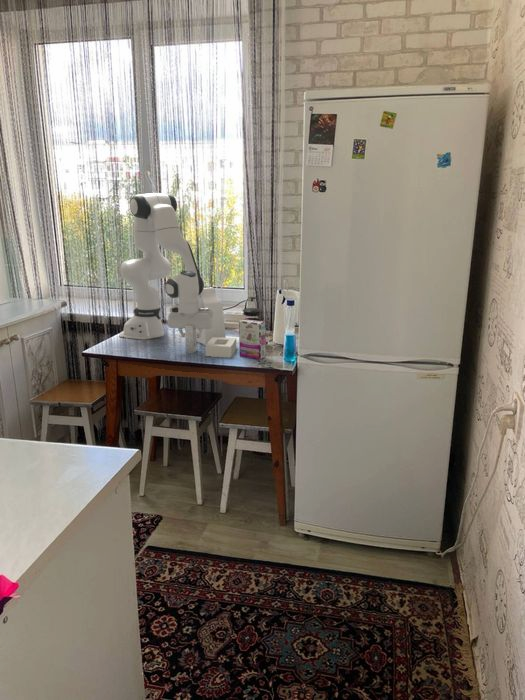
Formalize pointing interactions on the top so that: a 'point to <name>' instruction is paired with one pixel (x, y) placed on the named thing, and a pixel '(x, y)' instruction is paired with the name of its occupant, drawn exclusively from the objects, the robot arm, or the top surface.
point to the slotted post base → (221, 347)
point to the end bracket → (190, 339)
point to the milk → (213, 303)
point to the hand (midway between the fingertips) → (191, 337)
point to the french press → (252, 311)
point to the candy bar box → (252, 339)
